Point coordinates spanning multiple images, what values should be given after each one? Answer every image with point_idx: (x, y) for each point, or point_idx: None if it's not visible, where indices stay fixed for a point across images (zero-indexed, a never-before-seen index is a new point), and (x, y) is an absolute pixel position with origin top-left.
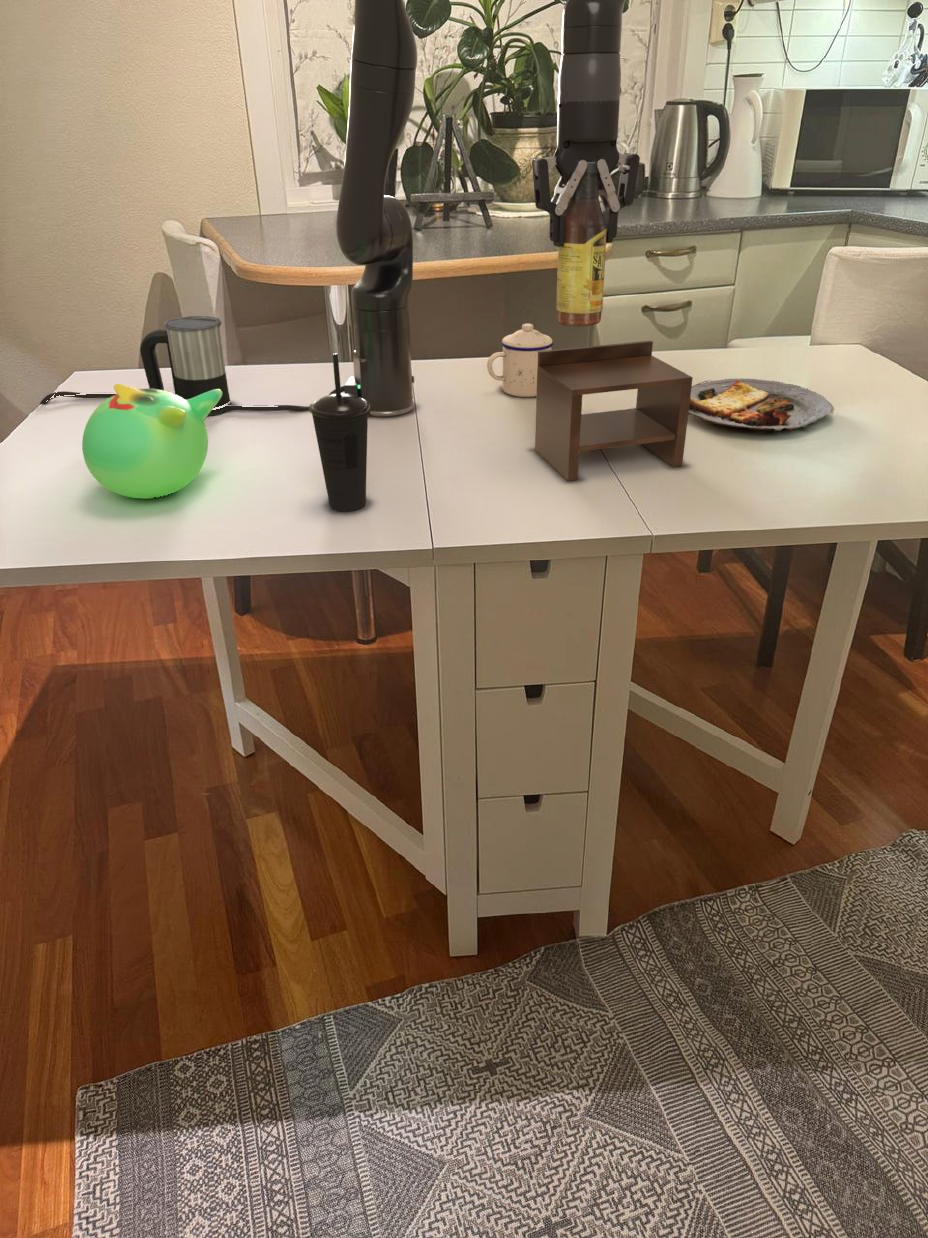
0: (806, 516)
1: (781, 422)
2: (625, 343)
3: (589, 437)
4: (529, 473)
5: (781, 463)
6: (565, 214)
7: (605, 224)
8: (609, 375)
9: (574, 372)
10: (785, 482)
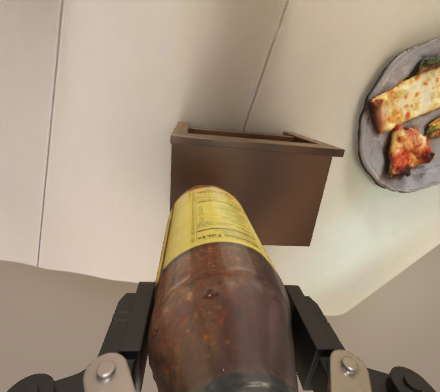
0: None
1: (414, 165)
2: (305, 150)
3: None
4: (151, 174)
5: (345, 228)
6: (154, 374)
7: (294, 335)
8: None
9: (202, 184)
10: (319, 256)
